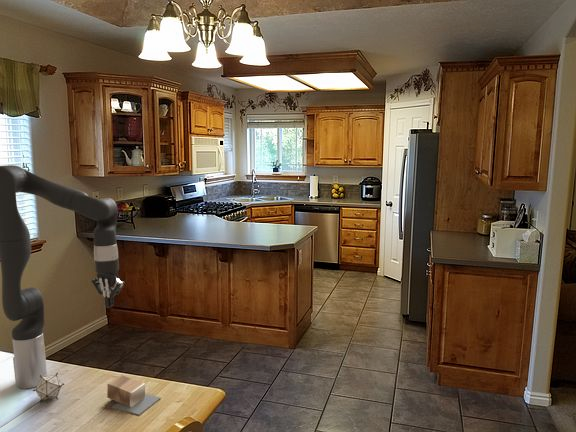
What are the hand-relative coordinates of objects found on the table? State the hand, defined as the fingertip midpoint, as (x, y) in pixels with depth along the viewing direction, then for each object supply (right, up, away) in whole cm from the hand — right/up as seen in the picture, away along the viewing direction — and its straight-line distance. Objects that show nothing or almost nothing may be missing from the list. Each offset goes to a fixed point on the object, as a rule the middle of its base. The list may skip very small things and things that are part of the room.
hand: (109, 306), depth 152 cm
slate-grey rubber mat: (+13, -29, -10) cm, 33 cm away
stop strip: (+7, -28, -7) cm, 30 cm away
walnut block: (+4, -24, -7) cm, 26 cm away
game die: (-17, -29, -7) cm, 34 cm away
